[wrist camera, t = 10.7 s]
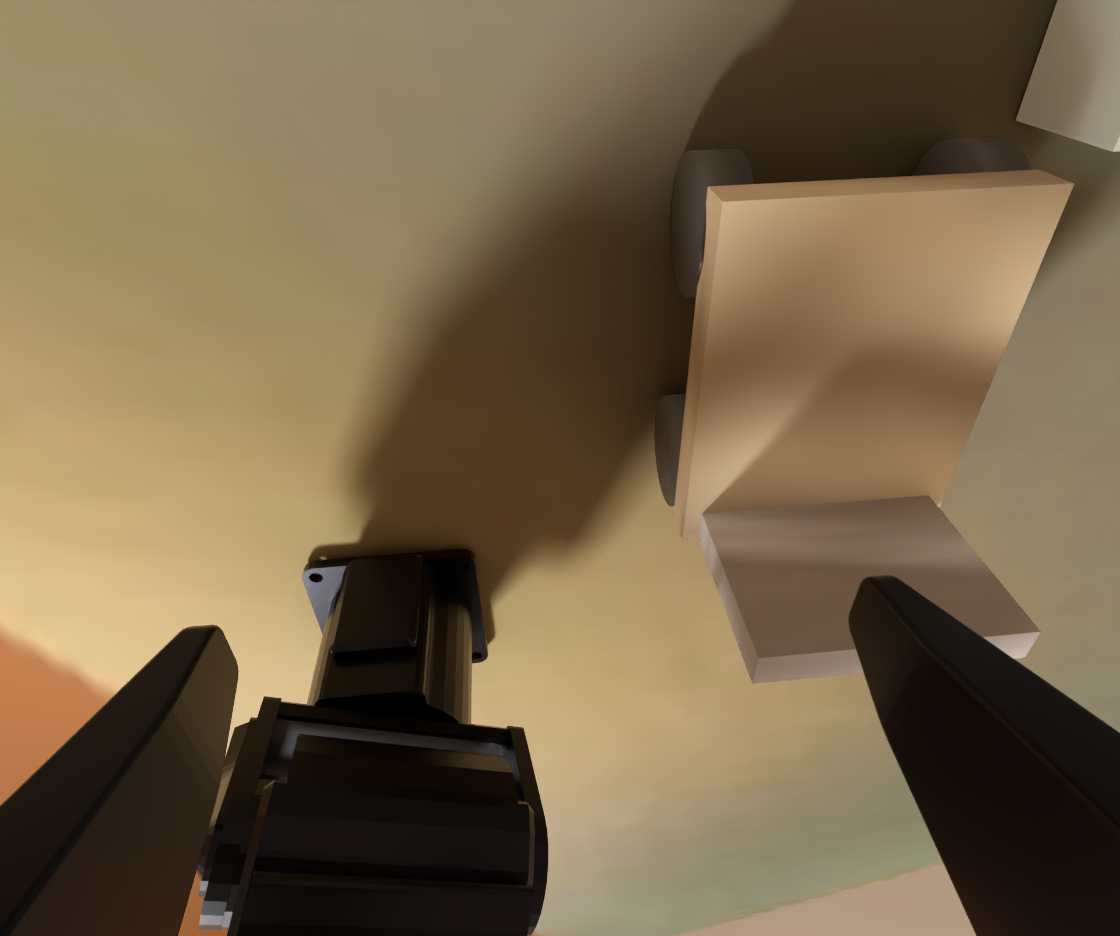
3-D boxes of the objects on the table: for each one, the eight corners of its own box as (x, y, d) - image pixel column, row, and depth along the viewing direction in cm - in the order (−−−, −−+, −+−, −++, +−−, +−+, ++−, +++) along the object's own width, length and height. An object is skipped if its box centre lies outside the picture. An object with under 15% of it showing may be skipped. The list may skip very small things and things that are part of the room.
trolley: (866, 446, 25) (1036, 665, 17) (652, 461, 25) (730, 695, 17) (966, 122, 18) (1312, 246, 11) (676, 135, 18) (822, 275, 10)
